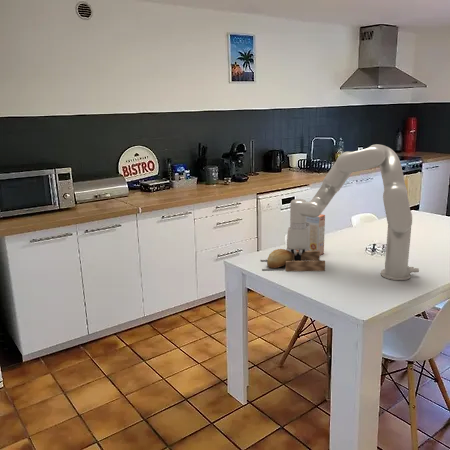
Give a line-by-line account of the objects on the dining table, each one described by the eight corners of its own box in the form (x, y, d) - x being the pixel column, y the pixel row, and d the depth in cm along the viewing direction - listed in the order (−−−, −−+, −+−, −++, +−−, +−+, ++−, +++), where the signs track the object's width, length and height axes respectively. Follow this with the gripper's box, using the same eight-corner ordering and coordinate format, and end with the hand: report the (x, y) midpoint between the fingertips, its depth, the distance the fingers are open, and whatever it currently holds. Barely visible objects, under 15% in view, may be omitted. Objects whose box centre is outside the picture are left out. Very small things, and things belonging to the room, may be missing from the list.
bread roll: (298, 264, 218) (298, 248, 216) (277, 271, 208) (277, 255, 206) (283, 259, 225) (283, 244, 223) (262, 266, 215) (262, 250, 213)
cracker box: (324, 253, 232) (325, 214, 227) (318, 256, 228) (319, 216, 222) (301, 248, 241) (302, 210, 236) (295, 251, 237) (295, 212, 232)
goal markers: (280, 260, 223) (280, 259, 223) (283, 270, 210) (283, 269, 210) (260, 260, 224) (260, 259, 224) (262, 270, 210) (262, 269, 210)
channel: (318, 259, 224) (319, 250, 222) (324, 270, 208) (325, 261, 207) (282, 259, 224) (282, 251, 223) (285, 271, 209) (286, 261, 208)
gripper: (312, 223, 215) (312, 259, 219) (281, 223, 215) (281, 260, 220) (315, 227, 207) (314, 264, 212) (282, 227, 208) (282, 265, 213)
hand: (297, 262), depth 216 cm, fingers closed
